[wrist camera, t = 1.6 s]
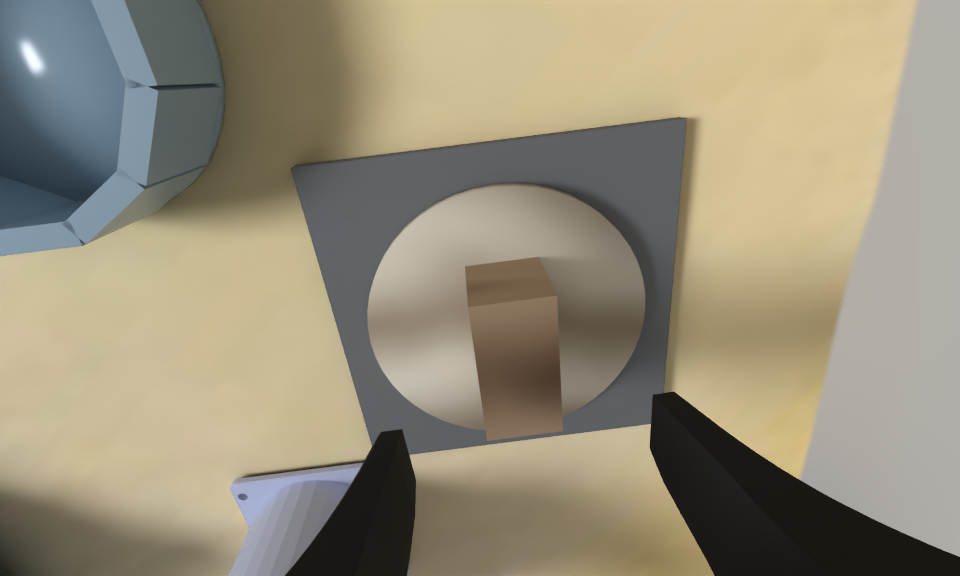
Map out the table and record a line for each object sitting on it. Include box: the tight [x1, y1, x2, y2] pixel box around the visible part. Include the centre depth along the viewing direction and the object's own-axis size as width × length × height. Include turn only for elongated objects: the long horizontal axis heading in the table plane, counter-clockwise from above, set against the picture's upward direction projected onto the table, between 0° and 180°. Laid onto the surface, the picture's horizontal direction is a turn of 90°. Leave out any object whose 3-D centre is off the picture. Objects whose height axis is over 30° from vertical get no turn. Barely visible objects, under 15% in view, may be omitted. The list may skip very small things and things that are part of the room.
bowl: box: [0, 0, 225, 256], centre depth 13 cm, size 11×11×4 cm
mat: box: [291, 117, 686, 455], centre depth 20 cm, size 15×15×1 cm
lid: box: [367, 182, 645, 441], centre depth 18 cm, size 12×12×4 cm
